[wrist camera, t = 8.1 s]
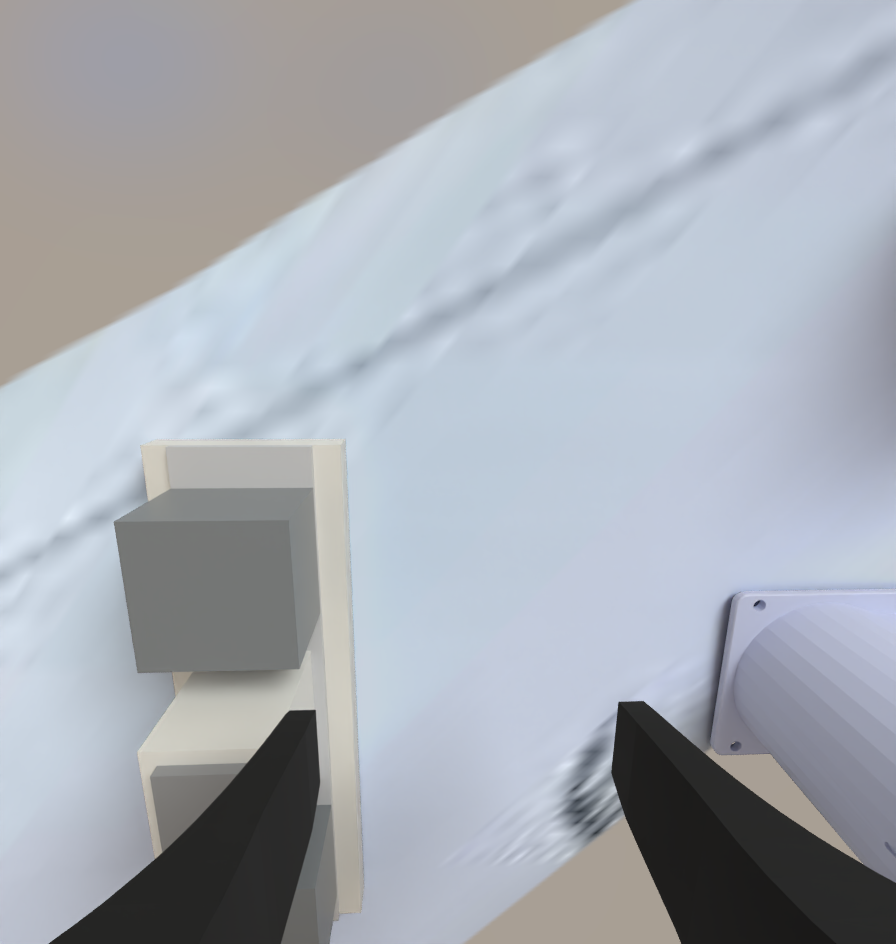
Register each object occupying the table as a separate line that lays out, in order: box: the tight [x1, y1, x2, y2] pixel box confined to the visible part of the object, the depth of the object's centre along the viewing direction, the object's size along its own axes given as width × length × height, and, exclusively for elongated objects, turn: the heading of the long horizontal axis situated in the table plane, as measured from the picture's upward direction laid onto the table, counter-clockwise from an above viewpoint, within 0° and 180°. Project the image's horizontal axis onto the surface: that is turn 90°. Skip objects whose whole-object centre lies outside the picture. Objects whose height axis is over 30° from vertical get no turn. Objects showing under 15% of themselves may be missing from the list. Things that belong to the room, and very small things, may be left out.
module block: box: [137, 651, 315, 859], centre depth 18 cm, size 4×6×5 cm, turn 0°
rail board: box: [114, 439, 364, 944], centre depth 20 cm, size 7×22×5 cm, turn 0°
